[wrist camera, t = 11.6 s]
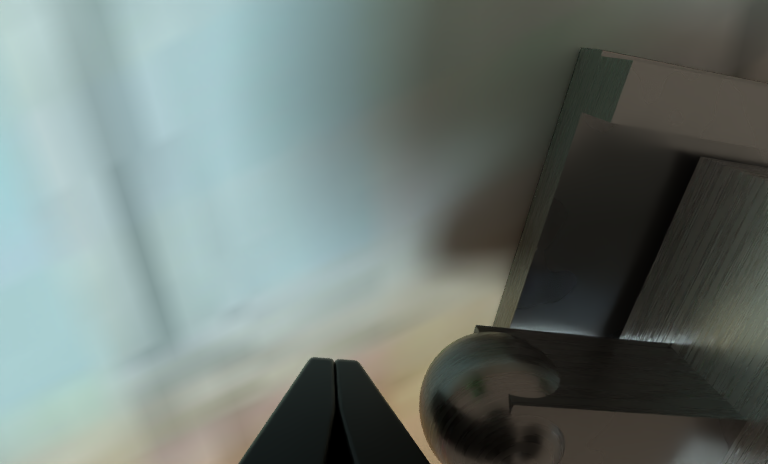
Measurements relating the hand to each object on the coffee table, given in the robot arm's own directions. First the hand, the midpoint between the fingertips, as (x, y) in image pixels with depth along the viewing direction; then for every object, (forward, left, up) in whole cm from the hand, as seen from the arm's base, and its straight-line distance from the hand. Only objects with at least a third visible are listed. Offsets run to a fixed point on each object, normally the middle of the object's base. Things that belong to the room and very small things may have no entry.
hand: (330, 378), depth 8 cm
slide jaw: (0, -5, -2) cm, 6 cm away
